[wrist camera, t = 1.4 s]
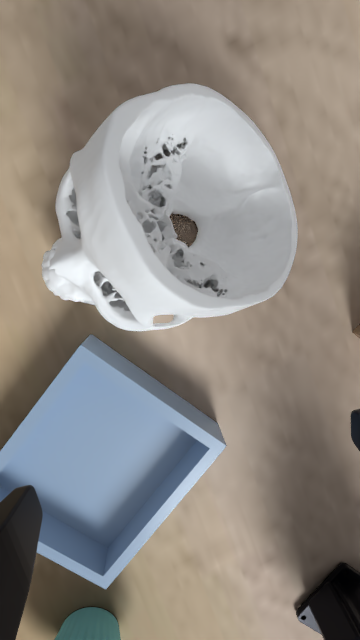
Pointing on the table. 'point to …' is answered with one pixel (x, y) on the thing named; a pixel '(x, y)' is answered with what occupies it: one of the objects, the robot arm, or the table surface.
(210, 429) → the tray
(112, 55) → the table surface
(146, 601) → the table surface
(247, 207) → the skull bowl
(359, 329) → the block
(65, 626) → the cupcake
